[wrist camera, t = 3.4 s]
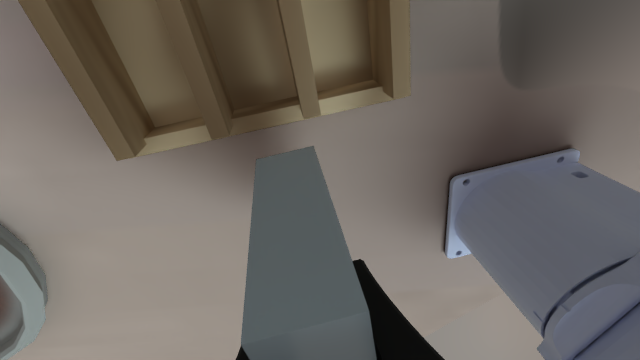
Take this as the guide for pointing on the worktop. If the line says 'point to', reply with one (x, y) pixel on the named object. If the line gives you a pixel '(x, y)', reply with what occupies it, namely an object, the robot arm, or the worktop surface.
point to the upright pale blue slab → (300, 269)
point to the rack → (221, 63)
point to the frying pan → (19, 295)
